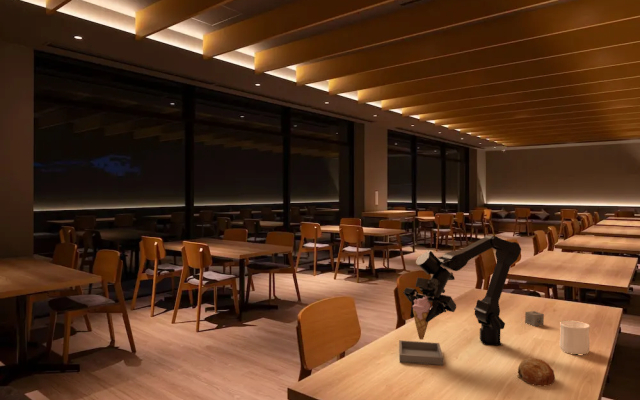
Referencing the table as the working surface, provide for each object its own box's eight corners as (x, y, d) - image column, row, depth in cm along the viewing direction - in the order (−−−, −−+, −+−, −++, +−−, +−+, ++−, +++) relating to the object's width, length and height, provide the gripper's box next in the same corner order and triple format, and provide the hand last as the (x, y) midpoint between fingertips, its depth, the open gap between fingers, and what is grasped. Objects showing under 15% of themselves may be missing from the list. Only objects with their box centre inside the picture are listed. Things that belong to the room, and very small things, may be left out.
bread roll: (516, 383, 136) (506, 361, 135) (544, 369, 136) (535, 346, 136) (535, 399, 126) (524, 374, 125) (565, 383, 127) (554, 359, 126)
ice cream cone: (430, 343, 144) (431, 299, 144) (411, 341, 145) (412, 297, 145) (429, 336, 151) (430, 294, 150) (411, 335, 152) (412, 293, 151)
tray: (438, 350, 154) (439, 343, 154) (443, 365, 140) (443, 358, 140) (399, 347, 156) (399, 340, 156) (399, 362, 142) (399, 354, 142)
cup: (586, 347, 158) (586, 321, 158) (593, 357, 148) (594, 329, 148) (556, 344, 161) (557, 318, 161) (562, 354, 151) (562, 326, 151)
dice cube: (543, 325, 184) (543, 314, 184) (534, 326, 182) (534, 315, 182) (534, 322, 189) (534, 310, 189) (525, 323, 187) (525, 311, 187)
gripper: (406, 265, 157) (386, 300, 150) (451, 272, 143) (432, 311, 136) (419, 283, 162) (400, 318, 156) (464, 292, 148) (446, 331, 141)
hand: (418, 319), depth 147 cm, fingers closed on ice cream cone, 6 cm apart
